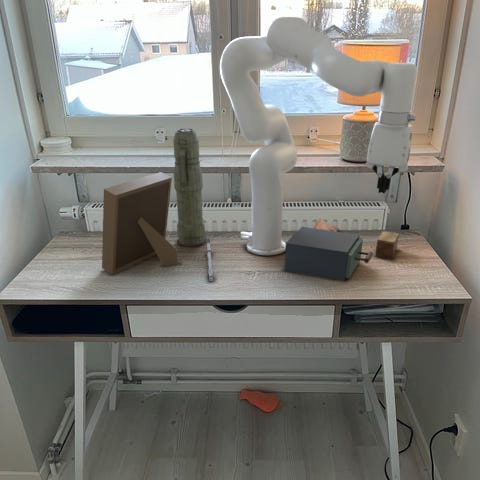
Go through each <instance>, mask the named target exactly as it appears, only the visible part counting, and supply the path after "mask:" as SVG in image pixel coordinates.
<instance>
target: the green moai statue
mask: <svg viewBox="0 0 480 480" xmlns="http://www.w3.org/2000/svg"><path fill="white" fill-rule="evenodd" d="M172 143H173V155H174V168H173V182H174V183H173V187H174V190H175V193H176V207H177V220H178V221H177V224H176V232H177V236H178V243H179V244H180V245H182V246H186V247H197V246H200V245H202V244H204V243H205V241H206V238H205V234H206V225H205V220H204V218H203V195H202V192H203V191H202V190H203V188H204V183H203V170H202V167H201V161H200V139H199V137H198V133H197V130H195V129H193V128H179V129H177V130H175V132H174V137H173V140H172Z"/></svg>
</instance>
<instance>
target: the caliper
mask: <svg viewBox="0 0 480 480" xmlns="http://www.w3.org/2000/svg"><path fill="white" fill-rule="evenodd" d="M211 249H212V247H211V236H210V235H206V254H207V267H208V281H209V282H213V281H214V279H213V263H212V262H213V261H212V250H211Z"/></svg>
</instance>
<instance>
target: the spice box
mask: <svg viewBox="0 0 480 480" xmlns="http://www.w3.org/2000/svg"><path fill="white" fill-rule="evenodd" d="M399 236H400V233H398V232H391V231H381V234H380V235H379V236H378V238H377V241H376V248H375V258H380V259H381V258H382V259H389V260H392V259H393V258H394V256H395V254H396V252H397V249H398V243H399Z"/></svg>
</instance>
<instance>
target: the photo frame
mask: <svg viewBox="0 0 480 480" xmlns="http://www.w3.org/2000/svg"><path fill="white" fill-rule="evenodd" d="M172 181H173V176H170V175H168V174H166V173H164V172H162V171H159V172H155V173H153V174H149V175H146V176H142V177H139V178H136V179H132V180H128V181H126V182H122V183H119V184H116V185H113V186H109V187H106V188H103V206H102V207H103V208H102V210H103V211H102V247H101V248H102V249H101V251H102V252H101V269H103V270H104V271H106V272H107V273H109V274H110V275H114V274H117V273H119V272H122V271H124V270H126V269H128V268H130V267H133V266H134V265H136V264H139V263H141V262H143V261H146V260H147V259H150V258H151V257H154V256H156V255H157V257H158V258H159V260H160V262H161V263H162V265H163V266H171V265H176V264H179V259H178V258H179V257H178V251H177V248H176V247H175V246H174V245H173V244H172V243H170V242H169V240H167V239H166V237H167V236H166V235H167V227H168V218H169V217H168V216H169V208H170V200H171V191H172Z"/></svg>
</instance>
